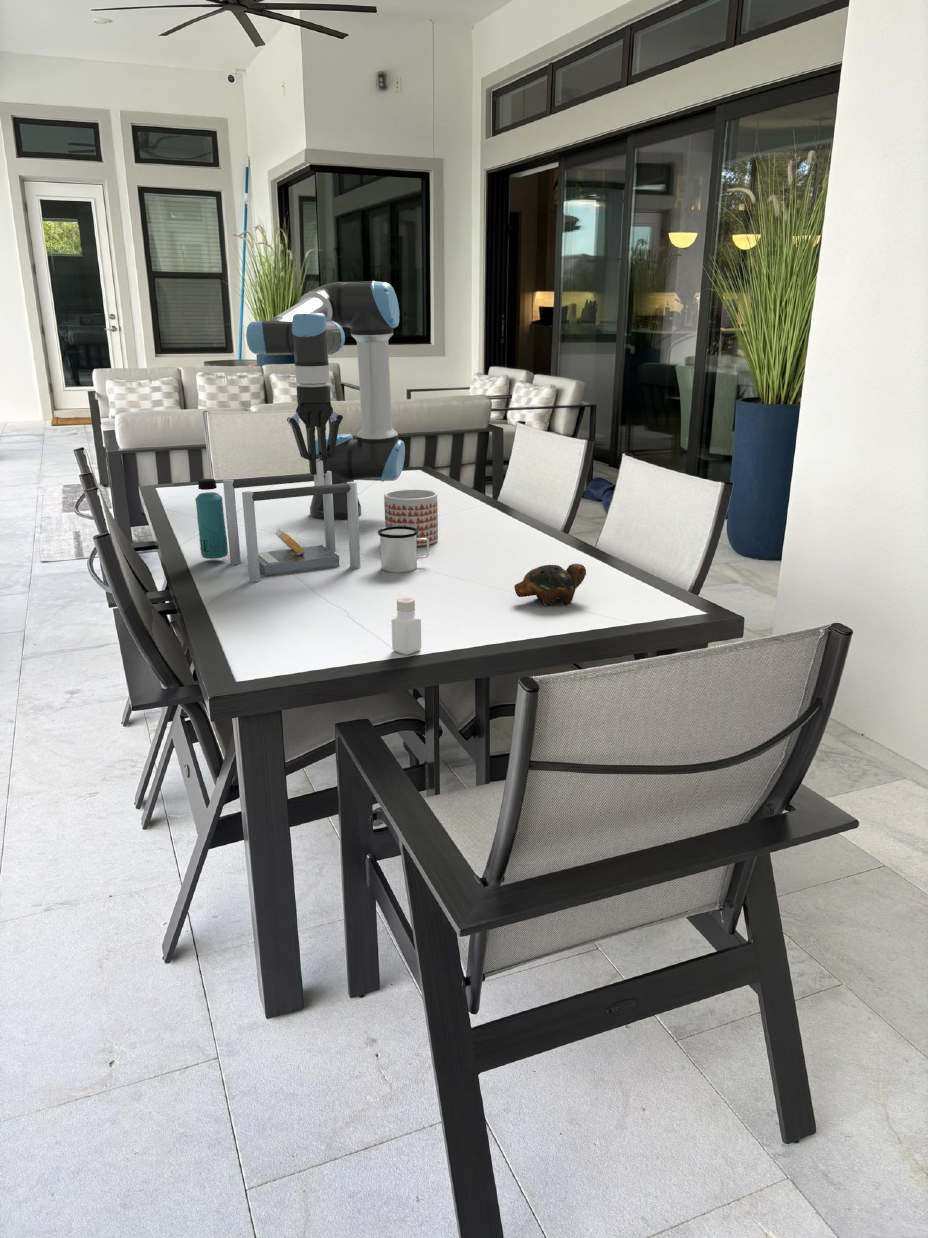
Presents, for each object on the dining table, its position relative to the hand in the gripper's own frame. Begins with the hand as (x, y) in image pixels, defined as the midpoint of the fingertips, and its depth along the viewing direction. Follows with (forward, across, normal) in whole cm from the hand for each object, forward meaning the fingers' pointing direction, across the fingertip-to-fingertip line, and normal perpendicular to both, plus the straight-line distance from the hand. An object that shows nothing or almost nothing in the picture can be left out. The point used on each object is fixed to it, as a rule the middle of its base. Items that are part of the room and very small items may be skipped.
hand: (319, 487), depth 210 cm
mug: (+18, -14, +15) cm, 28 cm away
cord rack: (+18, +8, +1) cm, 19 cm away
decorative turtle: (+18, -30, +53) cm, 64 cm away
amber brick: (+15, +5, +1) cm, 16 cm away
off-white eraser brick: (+15, +5, -5) cm, 17 cm away
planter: (+19, -26, -7) cm, 33 cm away
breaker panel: (+18, +8, +1) cm, 19 cm away
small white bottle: (+17, +8, +65) cm, 68 cm away
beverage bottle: (+18, +24, -12) cm, 32 cm away
